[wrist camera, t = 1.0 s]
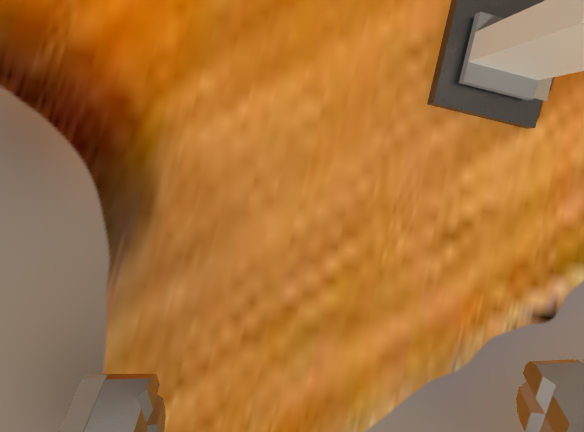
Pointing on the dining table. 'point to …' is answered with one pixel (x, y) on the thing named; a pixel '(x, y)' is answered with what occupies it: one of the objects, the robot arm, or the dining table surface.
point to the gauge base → (450, 62)
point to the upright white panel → (525, 48)
